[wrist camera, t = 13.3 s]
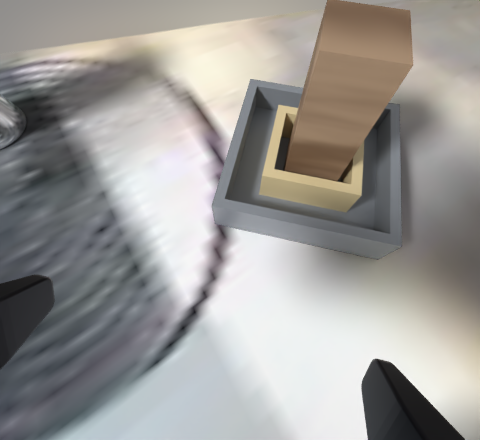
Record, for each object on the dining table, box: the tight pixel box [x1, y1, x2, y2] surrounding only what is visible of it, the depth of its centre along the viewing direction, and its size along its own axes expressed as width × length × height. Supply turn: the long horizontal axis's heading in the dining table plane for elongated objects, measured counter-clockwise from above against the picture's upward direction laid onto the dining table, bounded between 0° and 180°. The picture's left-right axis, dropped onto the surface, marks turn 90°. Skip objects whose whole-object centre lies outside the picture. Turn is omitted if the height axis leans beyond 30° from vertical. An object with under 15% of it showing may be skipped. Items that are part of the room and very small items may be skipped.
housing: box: [212, 79, 402, 260], centre depth 24 cm, size 14×14×4 cm
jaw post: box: [283, 0, 413, 181], centre depth 19 cm, size 4×4×12 cm
